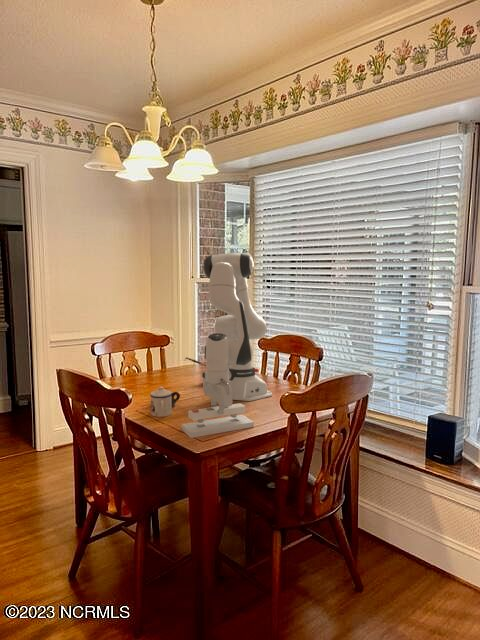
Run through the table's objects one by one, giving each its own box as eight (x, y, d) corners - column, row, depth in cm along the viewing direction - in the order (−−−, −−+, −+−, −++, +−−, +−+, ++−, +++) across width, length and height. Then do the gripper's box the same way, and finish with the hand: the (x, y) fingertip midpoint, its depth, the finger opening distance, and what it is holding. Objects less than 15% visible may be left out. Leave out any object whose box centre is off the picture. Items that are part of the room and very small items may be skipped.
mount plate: (242, 419, 186) (242, 414, 185) (253, 426, 177) (253, 421, 176) (181, 429, 174) (181, 424, 174) (190, 437, 165) (190, 432, 165)
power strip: (240, 413, 182) (240, 401, 181) (245, 416, 178) (245, 404, 177) (188, 421, 172) (188, 409, 172) (192, 425, 168) (192, 412, 168)
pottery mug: (158, 412, 197) (152, 394, 198) (156, 415, 205) (150, 398, 207) (184, 401, 201) (177, 384, 203) (181, 405, 210) (174, 388, 211)
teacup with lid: (150, 411, 196) (149, 385, 195) (171, 409, 198) (170, 383, 197) (151, 420, 184) (150, 392, 183) (173, 418, 186) (173, 391, 185)
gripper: (236, 381, 165) (236, 418, 167) (214, 370, 183) (214, 403, 185) (220, 383, 162) (220, 421, 164) (200, 372, 181) (200, 405, 182)
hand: (217, 411), depth 175 cm, fingers closed on power strip, 4 cm apart
